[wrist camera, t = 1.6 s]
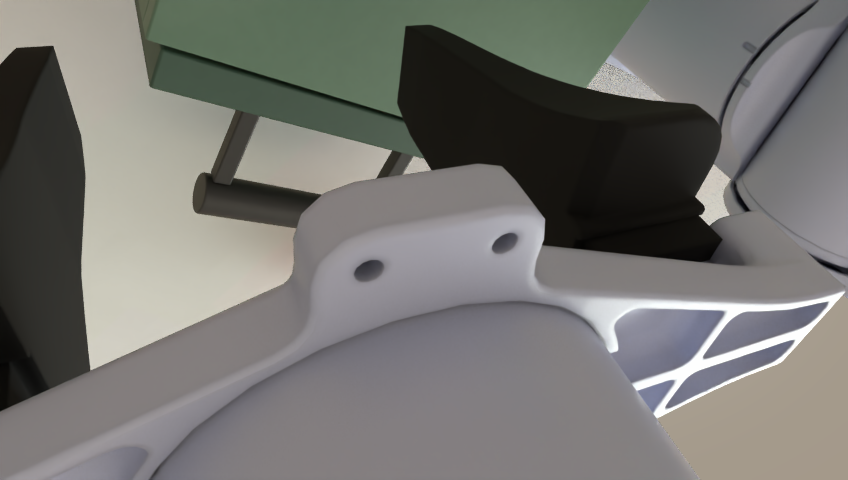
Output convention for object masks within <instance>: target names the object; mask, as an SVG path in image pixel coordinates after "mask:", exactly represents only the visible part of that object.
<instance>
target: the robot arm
mask: <svg viewBox="0 0 848 480" xmlns="http://www.w3.org/2000/svg"><path fill="white" fill-rule="evenodd" d="M605 62H606V63H608V64H610V65H612V66H614V67H616V68H618V69H620V70H623V71H625V72H627V73H629V74H631V75H633V76H635V77H637V78H639V79H640V80H642V81H643V82H644V83H645V84H646V85H647V86H649V87H650V88H651V89H652V90H653V91H654V92H656V93H657V94H658V95H659V96H660V97H662V98H663V99H664V100H665V101H666V102H664V101H652V100H644V99H638V98H631V97H625V96H619V95H614V94H608V93H603V92H599V91H595V90H591V89H587V88H583V87H579V86H575V85H572V84H568V83H565V82H562V81H559V80H556V79H553V78H550V77H547V76H544V75H541V74H539V73H536V72H533V71H531V70H529V69H526V68H524V67H522V66H519V65H517V64H515V63H512V62H510V61H508V60H506V59H504V58H501V57H499V56H497V55H495V54H493V53H491V52H489V51H487V50H485V49H483V48H481V47H479V46H477V45H475V44H473V43H471V42H469V41H467V40H465V39H463V38H461V37H459V36H457V35H455V34H453V33H450V32H448V31H446V30H444V29H441V28H439V27H436V26H433V25H413V26H405V35H404V44H403V53H402V62H401V71H400V80H399V89H398V98H397V105H398V107H399V110H400V112H401V115H402V117H403V120H404V122H405V124H406V127H407V129H408V131H409V134H410V136H411V137H412V139H413V141H414V142H415V144H416V146H417V147H418V149H419V151H420V152H421V154H422V155H423V157H424V159H425V160H426V162H427V164H428V165H429V167H430V168H431V170H432V171H425V172H418V173H411V174H405V175H398V176H391V177H385V178H378V179H371V180H364V181H358V182H353V183H351V184H348V185H345V186H342V187H339V188H337V189H334V190H331V191H328V192H326V193H324V194H322V195H321V196H320V197H319V198H318V199H317V200H316V201H315V202H314V203H313V204H312V205H311V206H310V207H308V208H307V209H306V210H305V211H304V212H303V213H302V214H301V216H300V219H299V222H298V226H297V229H296V232H295V235H294V238H293V243H294V266H293V272H292V275H291V277H290V278H289V279H288V280H287V281H286V282H285V283H284V284H282V285H280V286H278V287H276V288H273V289H271V290H269V291H267V292H264V293H262V294H260V295H258V296H256V297H253V298H251V299H249V300H247V301H244V302H242V303H240V304H238V305H236V306H233V307H231V308H229V309H227V310H224V311H222V312H220V313H218V314H216V315H213V316H211V317H209V318H207V319H204V320H202V321H200V322H198V323H196V324H193V325H191V326H189V327H187V328H184V329H182V330H180V331H178V332H176V333H173V334H171V335H169V336H167V337H164V338H162V339H160V340H158V341H156V342H153V343H151V344H149V345H147V346H144V347H142V348H140V349H138V350H136V351H133V352H131V353H129V354H127V355H124V356H122V357H120V358H118V359H116V360H113V361H111V362H109V363H107V364H104V365H102V366H100V367H98V368H96V369H93V370H91V371H90V363H89V354H88V344H87V334H86V324H85V314H84V302H83V291H82V279H81V255H82V236H83V218H84V198H85V166H84V157H83V148H82V140H81V134H80V131H79V128H78V125H77V121H76V118H75V115H74V112H73V108H72V105H71V102H70V99H69V95H68V92H67V89H66V86H65V82H64V79H63V76H62V73H61V69H60V66H59V63H58V60H57V57H56V53H55V50H54V47H53V46H42V47H24V48H16V49H15V50H14V51H13V52H12V53H11V54H10V55H9V56H8V57H7V58H6V59H5V60H4V61H3V62H2V63H1V64H0V480H700V478H699V477H698V476H697V474H696V473H695V471H694V470H693V469H692V467H691V466H690V464H689V463H688V462H687V460H686V459H685V458H684V456H683V455H682V453H681V452H680V450H679V449H678V448H677V446H676V445H675V443H674V442H673V441H672V439H671V438H670V436H669V435H668V434H667V432H666V431H665V430H664V428H663V427H662V425H661V424H660V422H659V421H658V420H657V418H658V417H660V416H662V415H664V414H666V413H668V412H670V411H672V410H674V409H676V408H678V407H680V406H682V405H684V404H686V403H688V402H690V401H692V400H694V399H696V398H698V397H701V396H703V395H705V394H707V393H709V392H711V391H713V390H715V389H717V388H719V387H722V386H724V385H726V384H728V383H731V382H733V381H735V380H738V379H740V378H742V377H745V376H747V375H749V374H752V373H755V372H757V371H760V370H763V369H765V368H768V367H770V366H773V365H776V364H779V363H780V362H782V361H783V360H784V359H785V358H786V356H787V355H788V354H789V353H790V352H791V351H792V350H793V349H794V347H796V345H797V344H798V343H799V342H800V341H801V340H802V339H803V338H804V337H805V336H806V334H807V333H808V332H809V331H810V330H811V329H812V328H813V327H814V326H815V325H816V323H817V322H818V321H819V320H820V319H821V318H822V317H823V316H824V315H825V314H826V312H827V311H828V310H829V309H830V308H831V307H832V306H833V305H834V304H835V302H836V301H837V300H838V299H839V298H840V297H841V296H842V295H843V296H845V297H846V298H848V0H650V1H649V2H648V3H647V5H646V6H645V8H644V9H643V10H642V12H641V13H640V14H639V16H638V17H637V19H636V20H635V21H634V23H633V24H632V25H631V27H630V28H629V30H628V31H627V32H626V34H625V35H624V37H623V38H622V39H621V41H620V42H619V43H618V45H617V46H616V48H615V49H614V50H613V52H612V53H611V54H610V56H609V57H608V59H607V60H606V61H605ZM713 164H714V165H715V166H717V167H718V168H719V169H720V170H721V171H722V172H723V173H724V174H726V175H727V176H728V177H729V178H730V179H731V180H730V181H729V183H728V184H727V186H726V187H725V189H724V194H723V198H724V203H725V206H726V208H727V211H728V213H729V215H730V216H726V217H723V218H720V219H718V220H716V221H715V222H714V223H712V224H711V225H710V226H709V225H708V224H707V223H706V222H705V221H704V220H703V219H702V218H701V217H700V216H699V215H702V214H703V212H704V210H705V208H704V205H703V204H702V203H701V202H700V201H699V200H698V199H697V198H696V197H695V196H696V194H697V192H698V191H699V189H700V187H701V185H702V183H703V182H704V180H705V178H706V176H707V175H708V173H709V171H710V169H711V167H712V166H713Z"/></svg>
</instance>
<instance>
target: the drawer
mask: <svg viewBox="0 0 848 480" xmlns="http://www.w3.org/2000/svg"><path fill="white" fill-rule="evenodd" d="M135 5H136V11H137V16H138V22H139V28H140V34H141V39H142V45H143V51H144V56H145V62H146V68H147V73H148V79H149V85H150V87H152V88H154V89H158V90H162V91H166V92H169V93H173V94H177V95H181V96H185V97H189V98H193V99H196V100H200V101H204V102H208V103H212V104H216V105H220V106H223V107H227V108H231V109H235V110H236V111H235V114H234V116H233V119H232V121H231V124H230V126H229V129H228V131H227V134H226V136H225V138H224V141H223V143H222V146H221V148H220V151H219V153H218V156H217V158H216V161H215V163H214V166H213V168H212V171H211V174H210V173H205V172H204V173H201V174H200V175H199V176H198V178H197V181H196V183H195V187H194V191H193V208H194V211H195V212H196V213H198V214H204V215H211V216H218V217H224V218H231V219H238V220H244V221H251V222H258V223H264V224H271V225H278V226H285V227H291V228H297V226H298V222H299V219H300V216H301V214H302V213H303V212H304V211H305V210H306V209H307V208H308V207H310V206H311V205H312V204H313V203H314V202H315V201H316V200H317V199H318V198H319V197H320V196H321V195H320V194H315V193H310V192H304V191H299V190H294V189H289V188H283V187H278V186H273V185H268V184H262V183H257V182H252V181H247V180H241V179H236V178H233V177H234V175H235V173H236V170H237V168H238V166H239V164H240V161H241V159H242V157H243V154H244V152H245V150H246V147H247V145H248V143H249V140H250V138H251V136H252V133H253V131H254V129H255V126H256V124H257V122H258V119H259V117H260V116H262V117H266V118H270V119H273V120H277V121H281V122H285V123H289V124H293V125H297V126H300V127H304V128H308V129H312V130H316V131H320V132H323V133H327V134H331V135H335V136H339V137H343V138H347V139H350V140H354V141H358V142H362V143H366V144H370V145H374V146H377V147H381V148H385V149H389V150H392V152H391V154H390V155H389V157H388V159H387V161H386V162H385V164H384V166H383V168H382V169H381V171H380V173H379V175H378V176H377V178H376V179H378V178H385V177H391V176H398V175H403V173H404V171H405V170H406V168H407V166H408V165H409V163H410V161H411V160H412V158H413V156H416V157H420V158H424V157H423V155H422V154H421V152H420V151H419V149H418V147H417V146H416V144H415V142H414V141H413V139H412V137H411V136H410V134H409V131H408V129H407V127H406V124H405V122H404V120H403V117H400V116H397V115H394V114H390V113H387V112H384V111H380V110H377V109H374V108H370V107H367V106H364V105H360V104H357V103H354V102H351V101H347V100H344V99H341V98H337V97H334V96H331V95H327V94H324V93H321V92H318V91H314V90H311V89H308V88H304V87H301V86H298V85H294V84H291V83H288V82H285V81H281V80H278V79H275V78H271V77H268V76H265V75H261V74H258V73H255V72H252V71H248V70H245V69H242V68H238V67H235V66H232V65H228V64H225V63H222V62H219V61H215V60H212V59H209V58H205V57H202V56H199V55H195V54H192V53H189V52H186V51H182V50H179V49H176V48H172V47H169V46H166V45H162V44H159V43H156V42H153V41H149V40H147V39H146V38H145V34H144V28H143V23H142V17H141V12H140V7H139V1H138V0H135Z"/></svg>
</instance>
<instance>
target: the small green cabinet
mask: <svg viewBox="0 0 848 480" xmlns="http://www.w3.org/2000/svg"><path fill="white" fill-rule="evenodd" d="M138 1H139V7H140V12H141V17H142V23H143V28H144V34H145V38H146V39H147V40H149V41H153V42H156V43H159V44H162V45H166V46H169V47H172V48H176V49H179V50H182V51H186V52H189V53H192V54H195V55H199V56H202V57H205V58H209V59H212V60H215V61H219V62H222V63H225V64H228V65H232V66H235V67H238V68H242V69H245V70H248V71H252V72H255V73H258V74H261V75H265V76H268V77H271V78H275V79H278V80H281V81H285V82H288V83H291V84H294V85H298V86H301V87H304V88H308V89H311V90H314V91H318V92H321V93H324V94H327V95H331V96H334V97H337V98H341V99H344V100H347V101H351V102H354V103H357V104H360V105H364V106H367V107H370V108H374V109H377V110H380V111H384V112H387V113H390V114H394V115H397V116H400V117H402V115H401V112H400V110H399V107H398V105H397V98H398V89H399V80H400V71H401V62H402V53H403V44H404V35H405V26H413V25H433V26H436V27H439V28H441V29H444V30H446V31H448V32H450V33H453V34H455V35H457V36H459V37H461V38H463V39H465V40H467V41H469V42H471V43H473V44H475V45H477V46H479V47H481V48H483V49H485V50H487V51H489V52H491V53H493V54H495V55H497V56H499V57H501V58H504V59H506V60H508V61H510V62H512V63H515V64H517V65H519V66H522V67H524V68H526V69H529V70H531V71H533V72H536V73H539V74H541V75H544V76H547V77H550V78H553V79H556V80H559V81H562V82H565V83H568V84H572V85H575V86H579V87H583V88H587V86H588V85H589V83H590V82H591V81H592V79H593V78H594V77H595V75H596V74H597V72H598V71H599V70H600V68H601V67H602V66H603V64H604V63H605V61H606V60H607V59H608V57H609V56H610V54H611V53H612V52H613V50H614V49H615V48H616V46H617V45H618V43H619V42H620V41H621V39H622V38H623V37H624V35H625V34H626V32H627V31H628V30H629V28H630V27H631V25H632V24H633V23H634V21H635V20H636V19H637V17H638V16H639V14H640V13H641V12H642V10H643V9H644V8H645V6H646V5H647V3H648V2H649V1H650V0H138Z"/></svg>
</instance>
